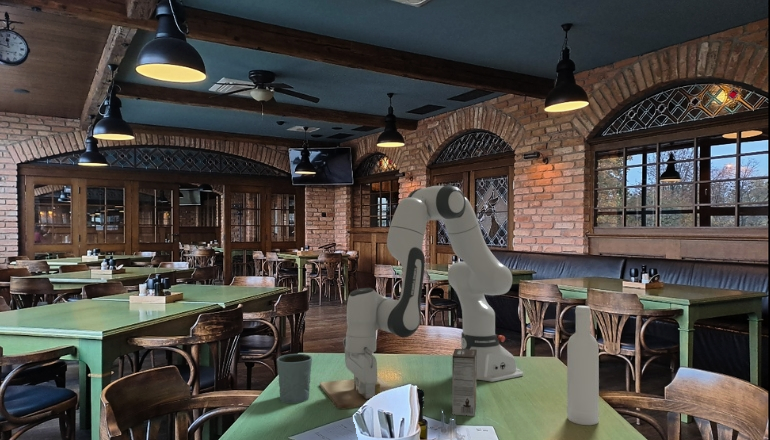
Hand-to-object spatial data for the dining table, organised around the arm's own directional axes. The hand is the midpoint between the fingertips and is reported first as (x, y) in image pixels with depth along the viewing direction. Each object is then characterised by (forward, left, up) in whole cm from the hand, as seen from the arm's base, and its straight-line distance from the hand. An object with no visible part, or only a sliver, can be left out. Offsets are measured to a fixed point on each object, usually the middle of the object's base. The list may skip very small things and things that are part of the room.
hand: (360, 392), depth 152 cm
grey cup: (+18, -9, -3) cm, 20 cm away
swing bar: (-2, -3, -1) cm, 4 cm away
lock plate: (-2, -8, -3) cm, 8 cm away
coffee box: (-25, +16, -3) cm, 30 cm away
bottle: (-51, +33, -3) cm, 61 cm away
